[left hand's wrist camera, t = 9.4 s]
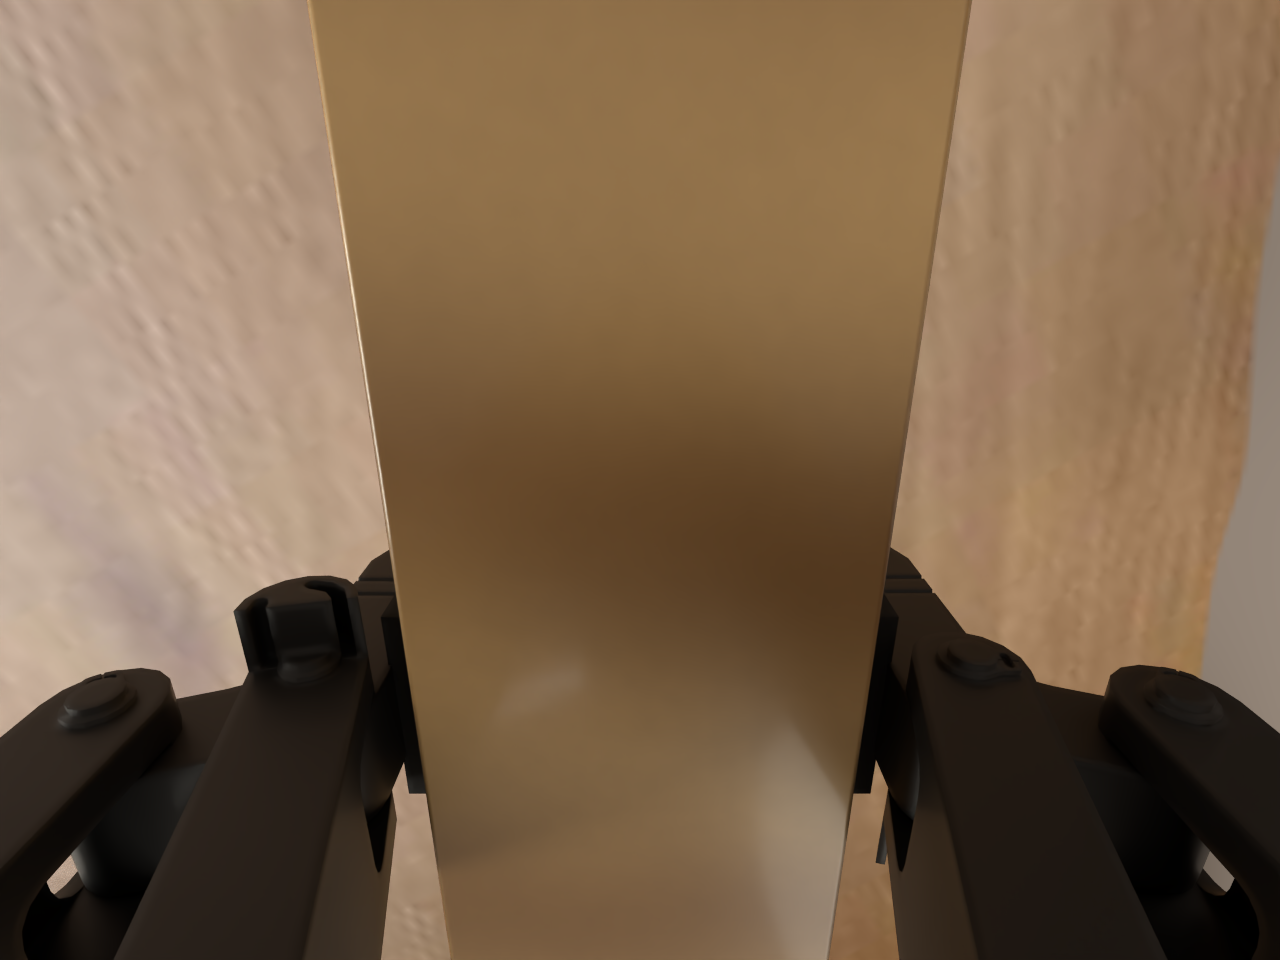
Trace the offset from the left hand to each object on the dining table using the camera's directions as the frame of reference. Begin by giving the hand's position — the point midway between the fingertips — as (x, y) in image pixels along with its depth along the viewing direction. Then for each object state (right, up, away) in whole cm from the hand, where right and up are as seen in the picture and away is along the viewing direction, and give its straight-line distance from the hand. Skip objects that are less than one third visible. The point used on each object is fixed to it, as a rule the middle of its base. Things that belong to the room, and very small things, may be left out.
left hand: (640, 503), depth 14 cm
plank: (0, +20, -7) cm, 22 cm away
